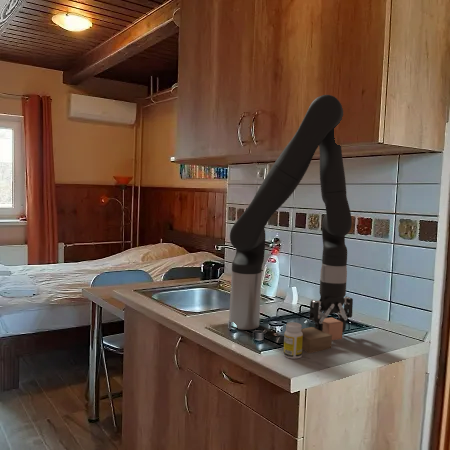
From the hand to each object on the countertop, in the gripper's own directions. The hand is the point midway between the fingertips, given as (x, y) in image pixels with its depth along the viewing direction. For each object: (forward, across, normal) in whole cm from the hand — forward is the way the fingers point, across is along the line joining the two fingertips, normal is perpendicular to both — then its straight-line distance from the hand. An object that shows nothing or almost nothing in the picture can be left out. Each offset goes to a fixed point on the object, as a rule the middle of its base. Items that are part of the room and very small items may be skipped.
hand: (330, 333), depth 137 cm
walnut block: (+1, +10, +4) cm, 11 cm away
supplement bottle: (+1, +19, +8) cm, 21 cm away
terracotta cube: (+1, 0, 0) cm, 1 cm away
